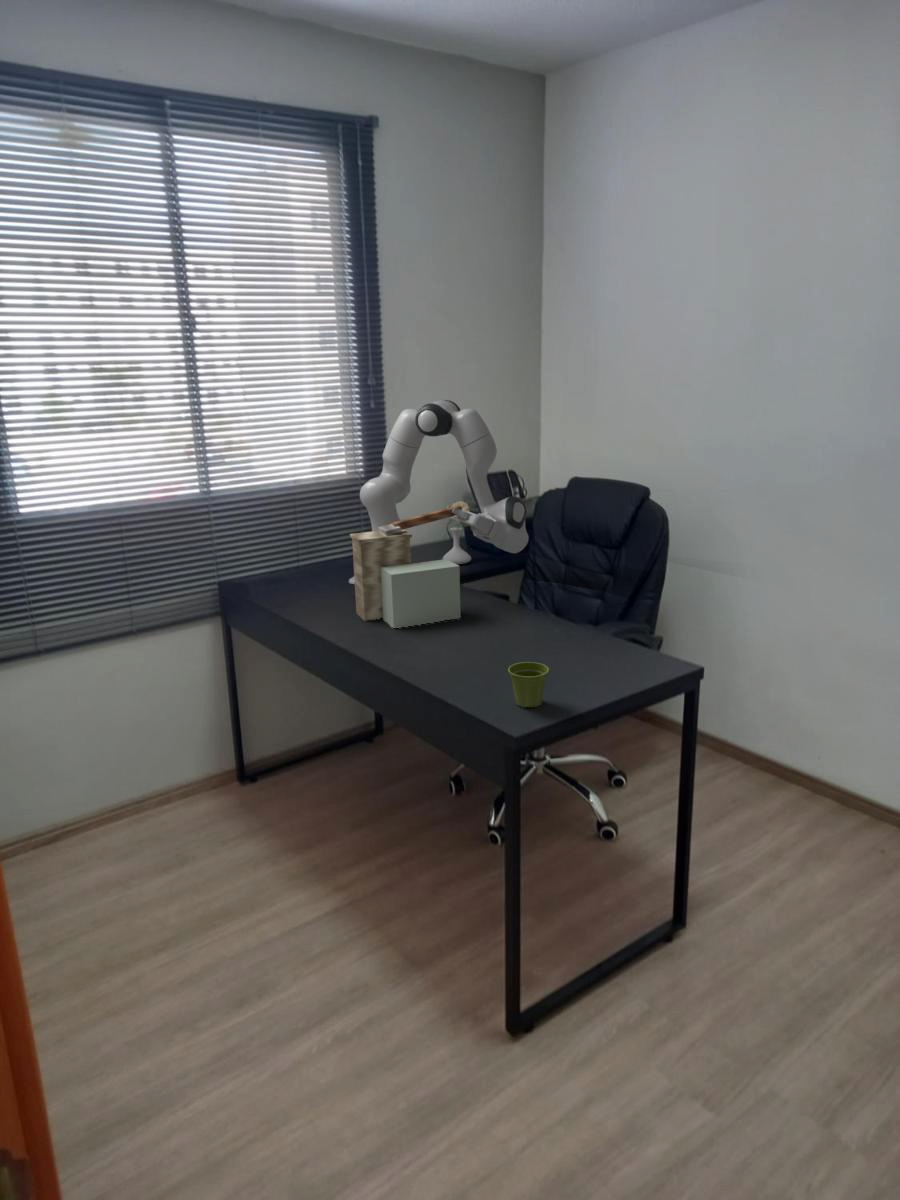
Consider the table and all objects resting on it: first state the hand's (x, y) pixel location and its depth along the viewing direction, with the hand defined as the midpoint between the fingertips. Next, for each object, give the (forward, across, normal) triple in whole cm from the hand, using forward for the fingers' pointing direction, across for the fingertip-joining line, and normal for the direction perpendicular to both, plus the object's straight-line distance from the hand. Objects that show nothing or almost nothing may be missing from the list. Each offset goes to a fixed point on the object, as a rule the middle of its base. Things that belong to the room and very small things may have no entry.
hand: (450, 508), depth 266 cm
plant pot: (-3, +82, +36) cm, 90 cm away
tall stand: (+5, 0, +39) cm, 40 cm away
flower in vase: (-36, -50, +16) cm, 64 cm away
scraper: (+6, 0, +8) cm, 10 cm away
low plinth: (-3, +11, +35) cm, 37 cm away
